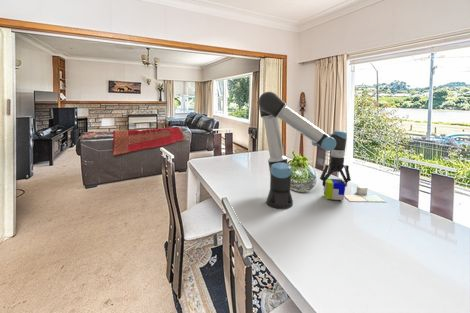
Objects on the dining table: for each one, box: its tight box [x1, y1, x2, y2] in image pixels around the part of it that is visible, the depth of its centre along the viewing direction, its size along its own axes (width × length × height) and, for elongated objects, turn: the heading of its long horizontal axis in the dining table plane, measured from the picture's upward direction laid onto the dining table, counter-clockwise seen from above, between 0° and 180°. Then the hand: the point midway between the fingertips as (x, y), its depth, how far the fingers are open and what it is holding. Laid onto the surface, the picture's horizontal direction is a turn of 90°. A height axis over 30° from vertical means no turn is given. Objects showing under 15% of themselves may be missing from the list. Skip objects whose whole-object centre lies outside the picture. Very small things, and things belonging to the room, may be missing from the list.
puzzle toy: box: [323, 178, 346, 201], centre depth 157 cm, size 10×10×10 cm
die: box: [356, 185, 368, 195], centre depth 166 cm, size 5×5×5 cm
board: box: [344, 194, 387, 203], centre depth 157 cm, size 22×11×1 cm, turn 89°
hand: (333, 191), depth 157 cm, fingers closed on puzzle toy, 11 cm apart
